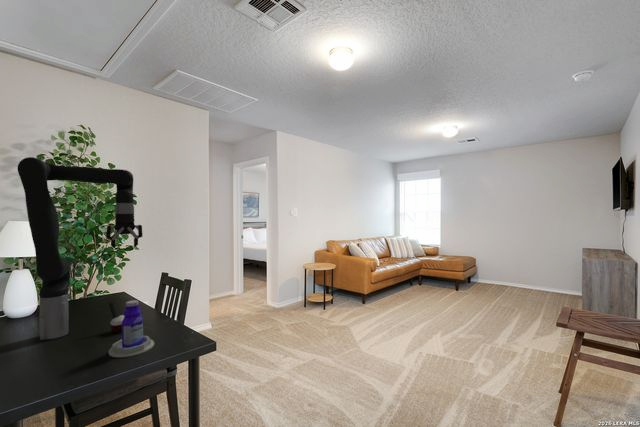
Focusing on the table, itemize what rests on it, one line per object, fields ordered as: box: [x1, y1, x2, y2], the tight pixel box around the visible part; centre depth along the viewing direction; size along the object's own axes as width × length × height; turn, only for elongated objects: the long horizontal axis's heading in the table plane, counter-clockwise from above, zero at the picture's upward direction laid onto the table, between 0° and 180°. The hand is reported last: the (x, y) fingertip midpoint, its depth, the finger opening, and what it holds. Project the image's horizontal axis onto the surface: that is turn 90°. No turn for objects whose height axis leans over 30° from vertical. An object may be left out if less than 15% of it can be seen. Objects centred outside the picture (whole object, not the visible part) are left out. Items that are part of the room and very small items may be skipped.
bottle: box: [121, 299, 144, 348], centre depth 118 cm, size 7×6×17 cm
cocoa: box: [108, 302, 124, 334], centre depth 135 cm, size 10×6×12 cm, turn 51°
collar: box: [107, 335, 155, 358], centre depth 118 cm, size 15×15×2 cm
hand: (124, 247), depth 143 cm, fingers open, 8 cm apart
